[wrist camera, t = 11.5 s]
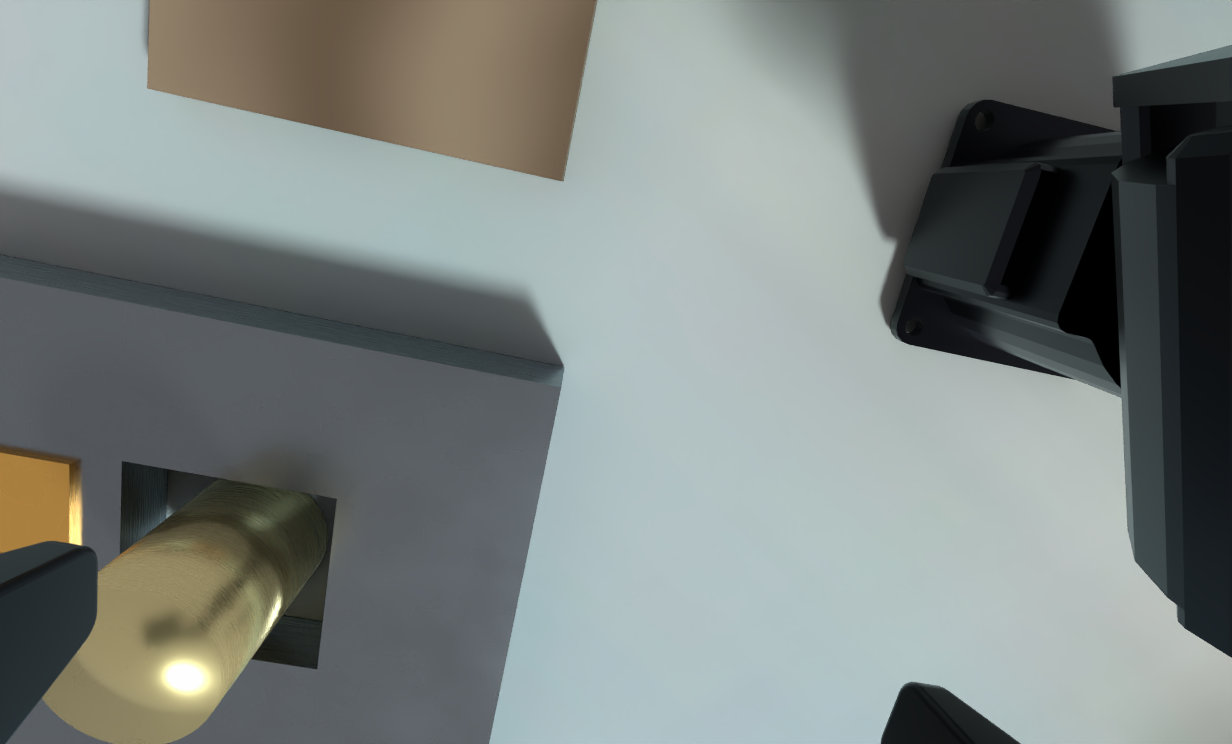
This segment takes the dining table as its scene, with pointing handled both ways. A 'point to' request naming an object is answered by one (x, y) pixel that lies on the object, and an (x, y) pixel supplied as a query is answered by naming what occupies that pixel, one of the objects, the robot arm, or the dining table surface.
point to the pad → (389, 69)
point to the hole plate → (287, 487)
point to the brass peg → (188, 612)
